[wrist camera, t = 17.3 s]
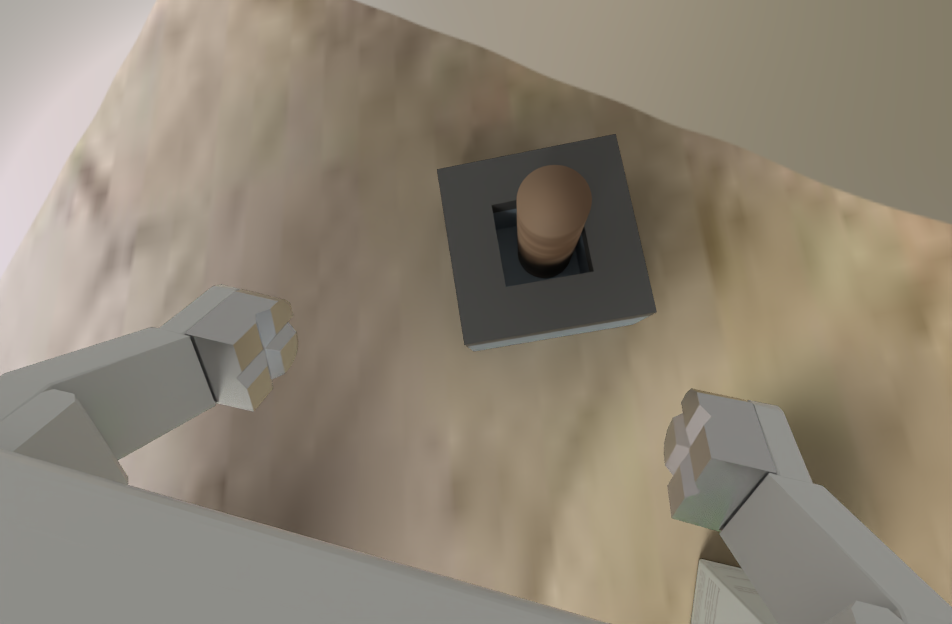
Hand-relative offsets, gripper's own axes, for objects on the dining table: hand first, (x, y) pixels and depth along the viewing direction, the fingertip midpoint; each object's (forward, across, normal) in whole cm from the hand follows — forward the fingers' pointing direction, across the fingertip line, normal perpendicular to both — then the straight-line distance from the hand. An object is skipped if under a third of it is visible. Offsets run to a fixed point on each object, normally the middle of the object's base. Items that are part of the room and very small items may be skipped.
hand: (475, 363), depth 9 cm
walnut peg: (+24, +1, -10) cm, 26 cm away
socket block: (+24, 0, -12) cm, 27 cm away
